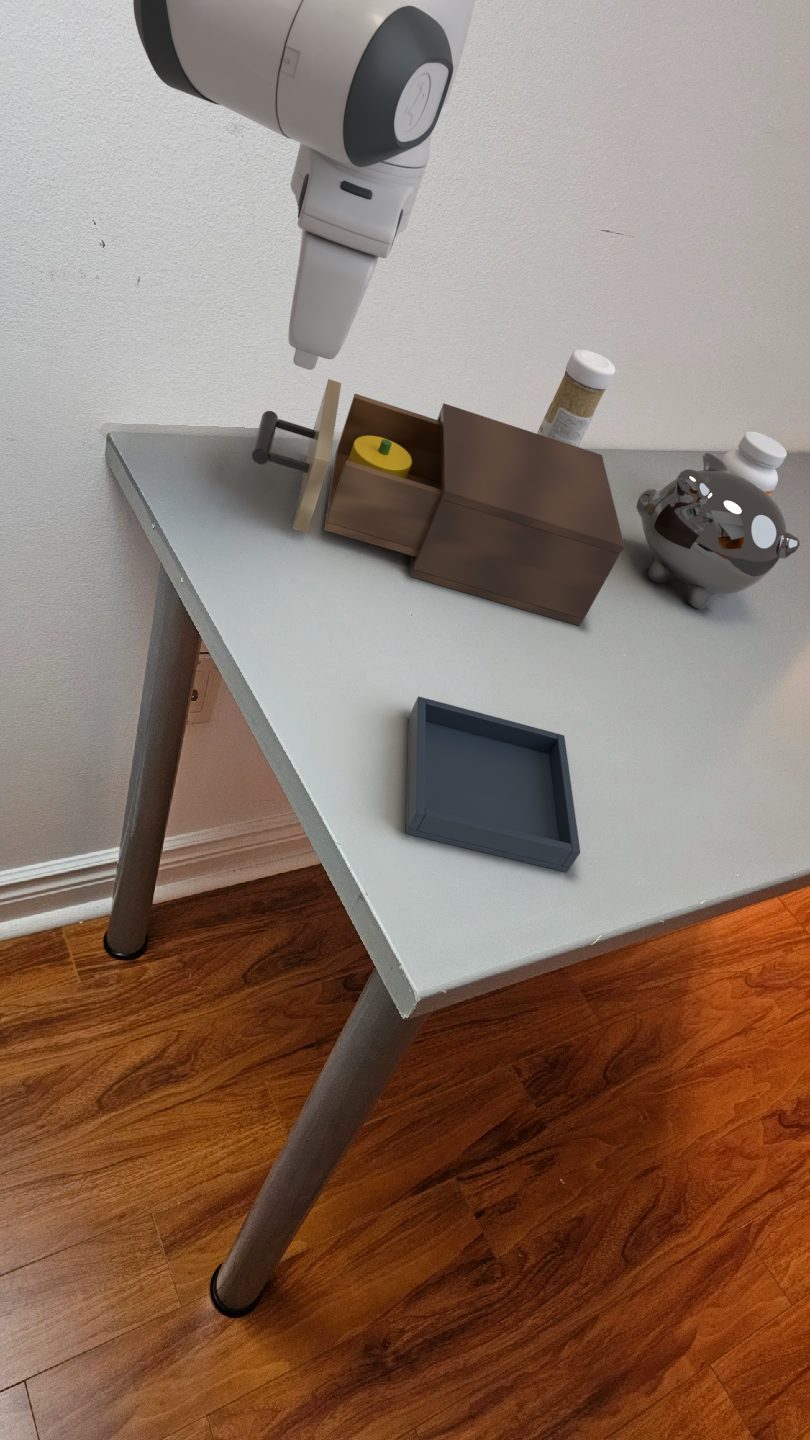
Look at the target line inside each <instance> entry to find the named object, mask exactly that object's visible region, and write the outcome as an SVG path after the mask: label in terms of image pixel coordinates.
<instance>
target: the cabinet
mask: <svg viewBox="0 0 810 1440" xmlns="http://www.w3.org/2000/svg"><path fill="white" fill-rule="evenodd" d="M436 420H439V421H441V490H442V495H441V496H440V499H439V501H438V504H437V506H436V509H435V511H434V514H433V516H432V519H431V521H430V524H429V526H428V529H427V531H426V534H425V536H424V539H423V541H422V543H421V546H420V548H419V551H418V553H417V556H416V557H415V556H411V555H410V564H409V565H410V567H409V568H410V569H409V570H410V571H409V576H410V578H414V579H417V580H421V581H424V582H427V583H431V584H435V585H438V586H441V587H445V588H448V589H451V590H454V591H459V592H462V593H465V594H468V595H472V596H476V597H479V598H481V599H485V600H489V601H493V602H496V603H500V604H503V605H506V606H510V607H513V608H517V609H520V610H522V611H523V610H524V611H528V612H531V613H534V614H537V615H541V616H545V617H548V618H552V619H555V620H558V621H562V622H565V623H569V624H572V625H575V626H581V625H582V623H583V622H584V620H585V618H586V617H587V614H588V613H589V611H590V609H591V607H593V606H592V605H593V604H594V602H595V600H596V598H597V597H598V595H599V593H600V592H601V589H602V587H603V586H604V584H605V582H606V580H607V579H608V577H609V575H610V573H611V571H612V569H613V568H614V566H615V564H616V562H617V561H618V559H619V557H620V555H621V553H622V552H623V551H624V549H625V543H624V539H623V535H622V530H621V527H620V523H619V519H618V518H619V517H618V515H617V509H616V507H615V502H614V498H613V494H612V490H611V486H610V483H609V479H608V475H607V471H606V467H605V463H604V458H603V454H600V453H597V452H594V451H591V450H588V449H585V448H583V447H579V446H578V447H576V446H573V445H570V444H567V443H564V442H561V441H558V440H555V439H552V438H548V437H545V436H542V435H539V434H537V432H534V431H529V430H527V429H524V428H520V427H517V426H514V425H512V424H509V423H505V422H503V421H500V420H496V419H492V418H490V417H487V416H484V415H481V414H478V413H475V412H471V411H468V410H465V409H462V408H460V407H456V406H454V405H450V404H447V403H445V402H444V403H442V406H441V408H440V411H439V414H438V416H437V418H436Z"/></svg>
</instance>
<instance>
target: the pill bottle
mask: <svg viewBox="0 0 810 1440" xmlns="http://www.w3.org/2000/svg"><path fill="white" fill-rule="evenodd" d="M737 448H738V449H737ZM737 448H736V449H731V450H729V451H728V452H726V453H725V454H724V455H723V456H722V458H720V460H721V461H723V463H724V464H725V465H726V467H727V469H728V472H729V473H732V474H735V475H738V476H740V477H742V478H744V479H746V480H748V481H750V482H752V483H753V484H755V485H756V486H758V487H759V488H761V489H762V490H763V491H764V492H766V493H767V494H768V495H769V496H770V497H771V495H772V494H773V492H774V490H775V488H776V486H777V485H778V481H779V476H778V475H779V474H778V472H777V470H776V469H778V468H779V467H780V466H781V465H782V464H783V462H784V461H785V458H786V457H787V455H788V452H787V450H786V448H785V447H783V445H782V444H781V443H779V442H778V441H777V440H775V439H774V438H771V437H770V436H767V435H765V434H764V433H760V432H756V431H752V430H751V431H746V432H745V433H744V435H743V437H741V440H740V441H739V443H738V447H737Z"/></svg>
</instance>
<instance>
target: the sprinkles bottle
mask: <svg viewBox="0 0 810 1440" xmlns="http://www.w3.org/2000/svg"><path fill="white" fill-rule="evenodd" d="M615 374H616V367H615V365H614V364H613V363H612V361H610V360H609V359H608V358H607V357H605V356H604V355H601V354H600V353H597V352H595V351H592V350H589V349H583V348H581V349H580V348H579V349H578V348H577V349H575V350H573V351H572V353H571V355H570V356H569V359H568V361H567V363H566V366H565V371H564V375H563V377H562V379H561V381H560V383H559V385H558V388H557V390H556V392H555V394H554V396H553V399H552V401H551V402H550V404H549V406H548V408H547V410H546V412H545V415H544V417H543V419H542V421H541V424H540V426H539V427H538V430H537V432H536V434H539V435H542V436H545V437H548V438H552V439H555V440H558V441H561V442H564V443H567V444H570V445H573V446H576V447H579V446H580V444H581V441H582V440H583V438H584V435H585V434H586V431H587V429H588V427H589V425H590V424H591V421H592V419H593V417H594V415H595V414H594V413H595V412H596V409H597V407H598V406H599V403H600V401H601V399H602V397H603V395H604V393H605V392H606V391H607V389H608V388H609V387H610V385H611V383H612V380H613V378H614V376H615Z"/></svg>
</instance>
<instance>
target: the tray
mask: <svg viewBox="0 0 810 1440" xmlns="http://www.w3.org/2000/svg"><path fill="white" fill-rule="evenodd" d="M407 729H408V730H407V734H408V735H407V765H406V766H407V769H406V804H405V805H406V807H405V808H406V809H405V810H406V811H405V815H406V816H405V834H407V835H411V836H415V837H419V838H423V839H427V840H430V841H435V842H440V843H443V844H448V845H451V846H456V847H461V848H464V849H468V850H473V851H476V852H481V853H485V854H490V855H493V856H497V857H503V858H506V859H510V860H514V861H518V862H524V863H527V864H532V865H535V866H539V867H542V868H543V867H544V868H548V869H552V870H556V871H560V872H563V873H564V872H565V873H568V872H569V870H570V869H571V867H572V866H573V865H574V863H575V861H576V860H577V859H578V857H579V855H580V854H581V847H580V839H579V831H578V825H577V817H576V810H575V803H574V795H573V788H572V781H571V774H570V766H569V759H568V752H567V744H566V737H565V734H561V733H556V732H553V731H549V730H546V729H544V728H543V729H541V728H538V727H535V726H531V725H527V724H524V723H519V722H516V721H512V720H509V719H505V718H502V717H497V716H493V715H489V714H486V713H483V712H479V711H476V710H475V711H474V710H471V709H467V708H464V707H460V706H456V705H453V704H450V703H445V702H441V701H437V700H434V699H430V698H426V697H422V696H419V695H418V696H417V697H416V700H415V701H414V705H413V707H412V708H411V710H410V713H409V716H408V728H407Z"/></svg>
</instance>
